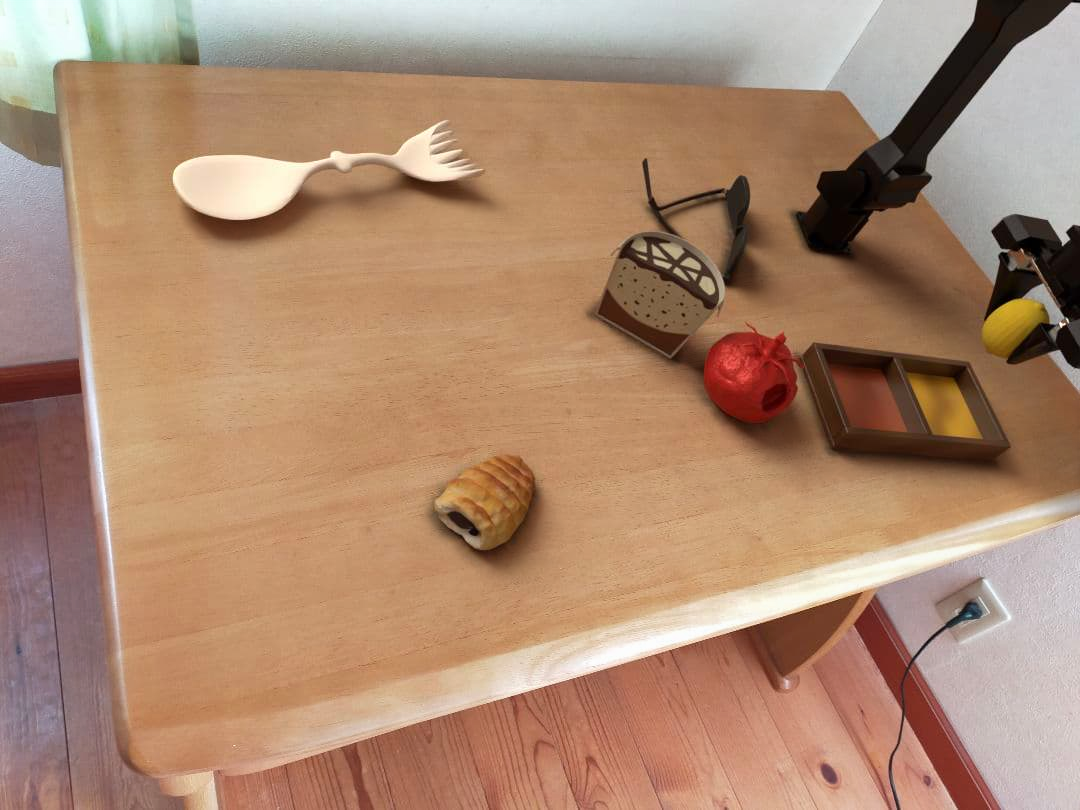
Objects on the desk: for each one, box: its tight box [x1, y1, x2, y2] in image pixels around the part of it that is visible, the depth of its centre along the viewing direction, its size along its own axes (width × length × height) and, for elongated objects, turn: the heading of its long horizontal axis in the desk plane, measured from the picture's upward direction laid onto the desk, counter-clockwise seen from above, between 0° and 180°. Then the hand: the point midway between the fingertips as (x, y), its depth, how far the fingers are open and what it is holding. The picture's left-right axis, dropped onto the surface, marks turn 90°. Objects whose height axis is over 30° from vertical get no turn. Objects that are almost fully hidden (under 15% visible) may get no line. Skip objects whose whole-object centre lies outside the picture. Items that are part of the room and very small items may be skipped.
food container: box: [594, 230, 726, 360], centre depth 91 cm, size 12×6×10 cm, turn 65°
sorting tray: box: [798, 341, 1012, 462], centre depth 99 cm, size 22×12×3 cm, turn 97°
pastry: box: [433, 454, 536, 551], centre depth 74 cm, size 9×7×4 cm
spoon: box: [172, 119, 487, 221], centre depth 91 cm, size 9×32×4 cm, turn 122°
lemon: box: [981, 297, 1051, 360], centre depth 93 cm, size 6×6×8 cm
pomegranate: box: [703, 320, 804, 424], centre depth 90 cm, size 10×10×9 cm
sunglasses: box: [641, 157, 751, 283], centre depth 106 cm, size 17×14×5 cm
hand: (998, 342), depth 95 cm, fingers closed on lemon, 5 cm apart
